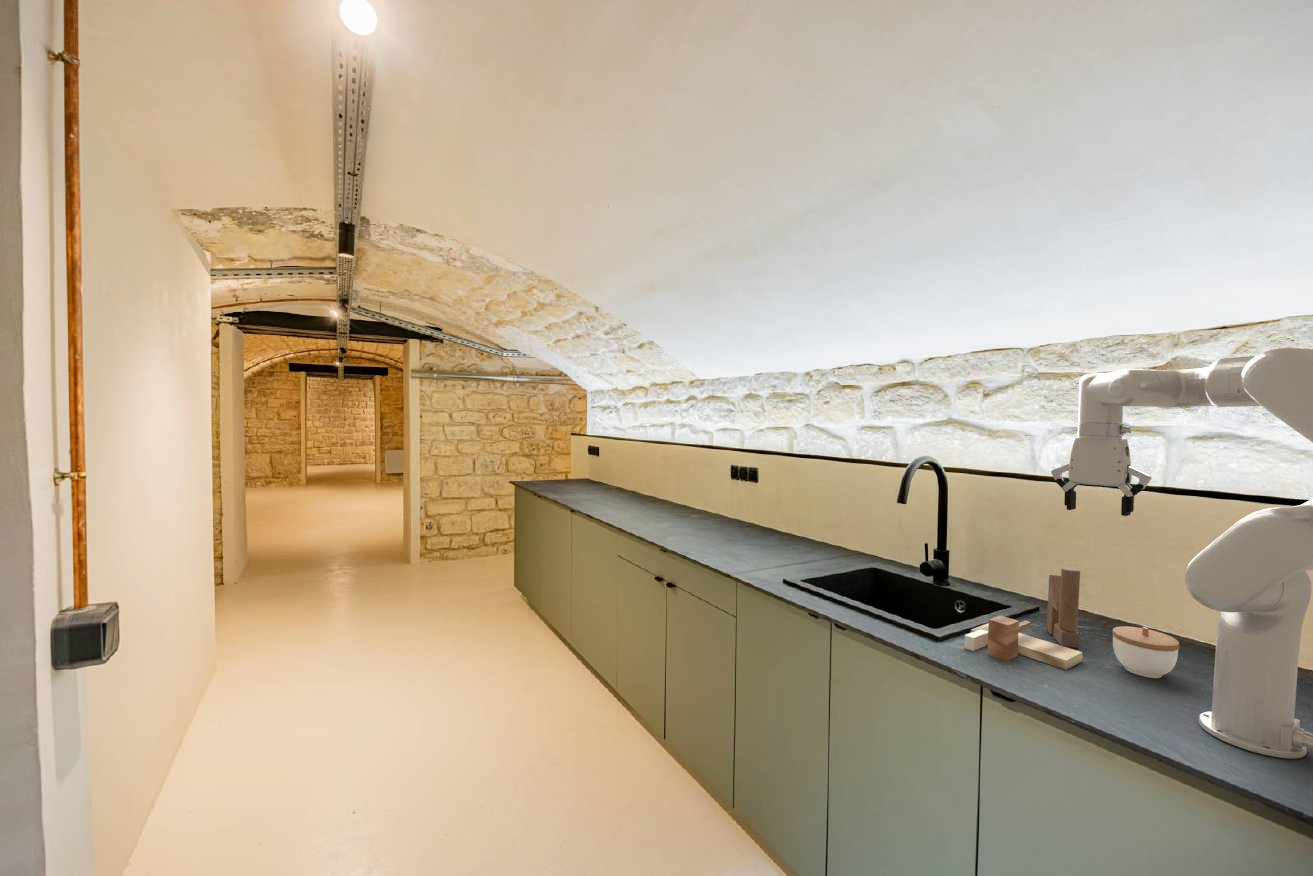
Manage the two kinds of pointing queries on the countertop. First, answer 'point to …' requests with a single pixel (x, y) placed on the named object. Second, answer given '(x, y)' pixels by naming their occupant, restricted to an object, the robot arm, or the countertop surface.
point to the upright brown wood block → (1004, 637)
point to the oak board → (1044, 650)
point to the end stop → (976, 640)
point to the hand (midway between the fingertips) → (1097, 512)
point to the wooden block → (1064, 607)
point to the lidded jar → (1145, 651)
